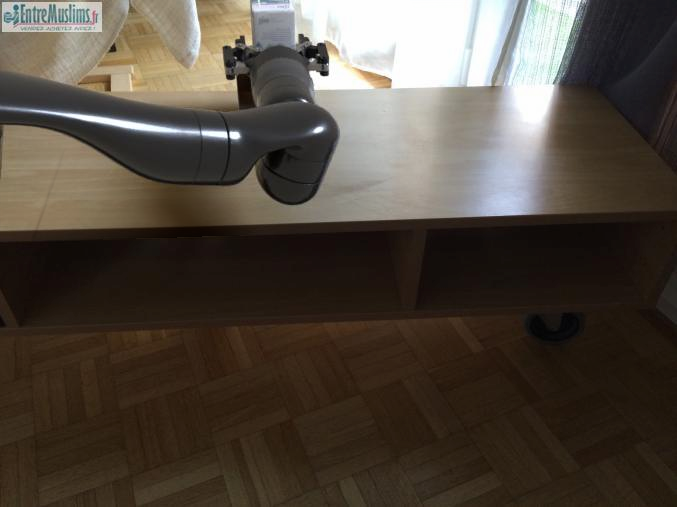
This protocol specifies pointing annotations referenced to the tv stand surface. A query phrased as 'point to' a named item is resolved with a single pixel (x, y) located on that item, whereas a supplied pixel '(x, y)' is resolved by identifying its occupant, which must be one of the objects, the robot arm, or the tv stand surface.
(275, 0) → the syrup box
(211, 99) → the tv stand surface
